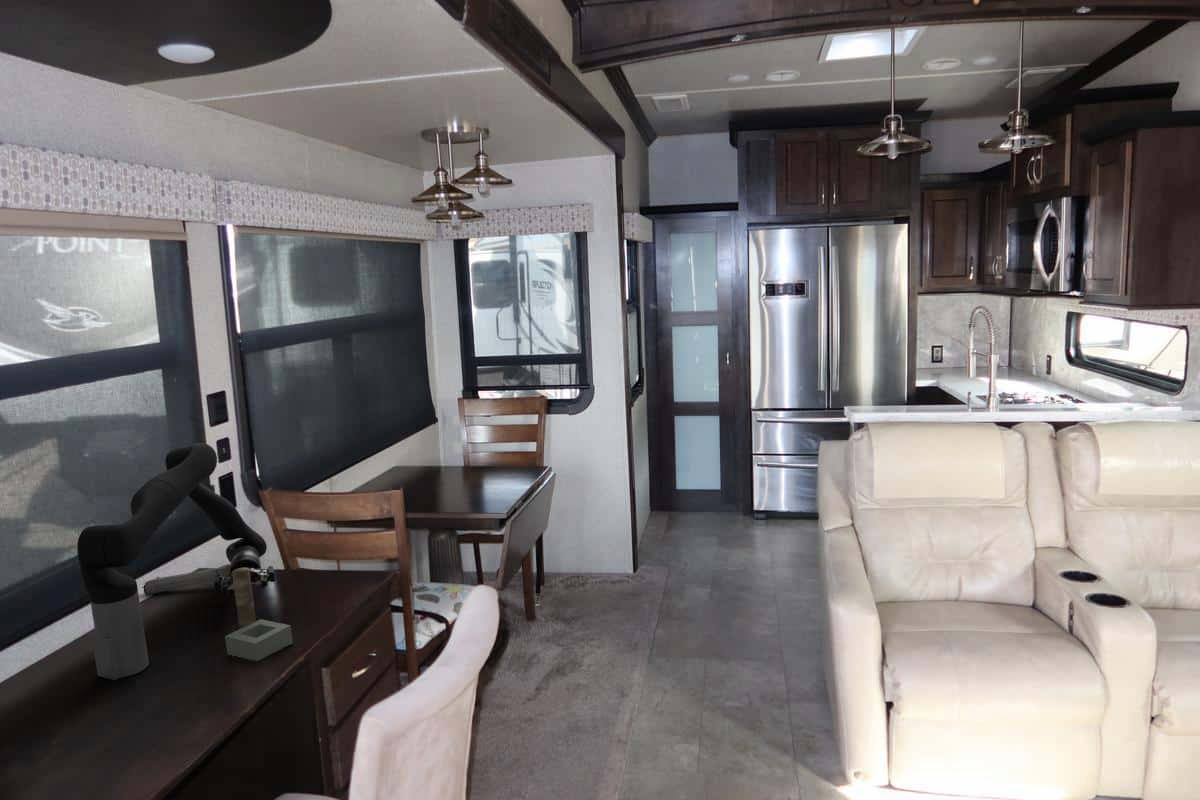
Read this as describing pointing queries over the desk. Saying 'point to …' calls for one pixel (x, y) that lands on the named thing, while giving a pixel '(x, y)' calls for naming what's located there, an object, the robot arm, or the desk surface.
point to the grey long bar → (184, 580)
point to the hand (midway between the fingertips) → (244, 588)
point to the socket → (258, 639)
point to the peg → (243, 597)
